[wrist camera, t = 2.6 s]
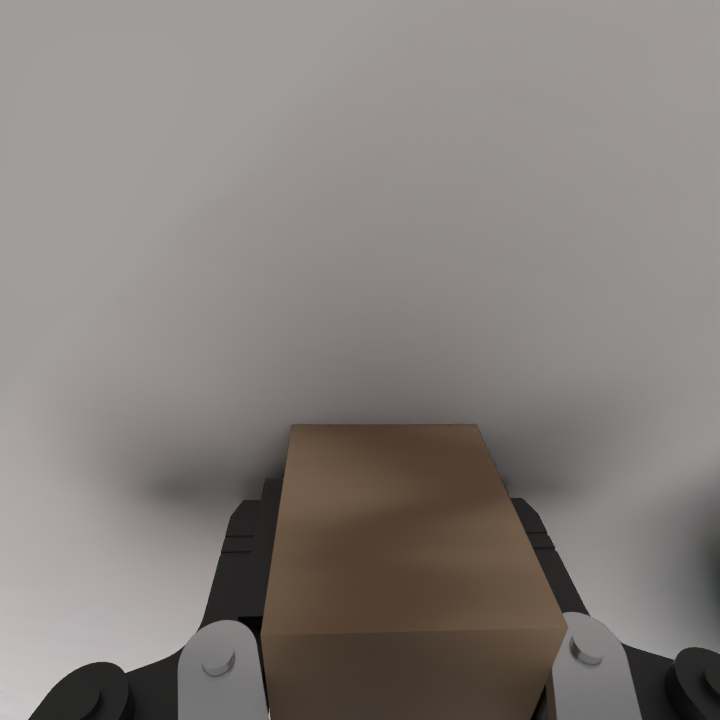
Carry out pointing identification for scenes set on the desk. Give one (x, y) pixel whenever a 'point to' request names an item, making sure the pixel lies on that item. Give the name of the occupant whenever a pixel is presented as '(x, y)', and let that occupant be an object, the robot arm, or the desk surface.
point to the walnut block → (403, 582)
